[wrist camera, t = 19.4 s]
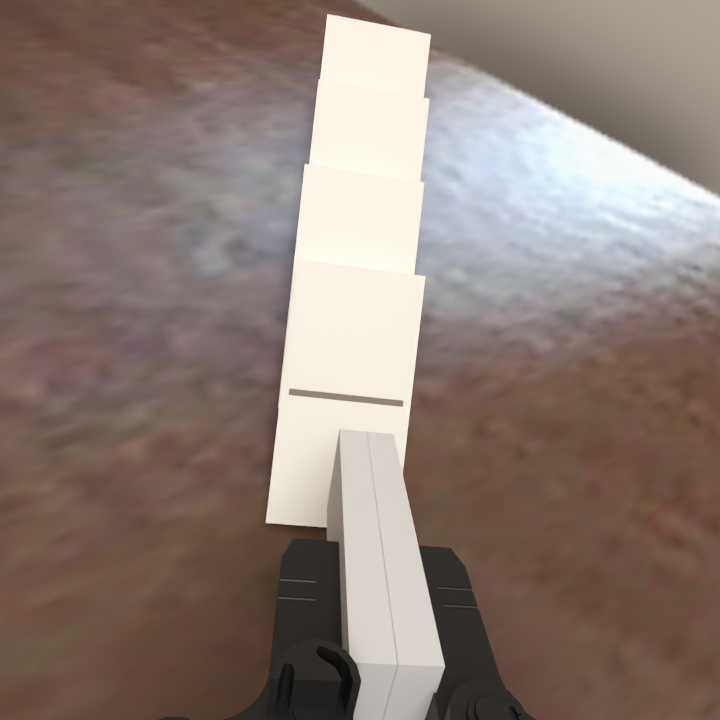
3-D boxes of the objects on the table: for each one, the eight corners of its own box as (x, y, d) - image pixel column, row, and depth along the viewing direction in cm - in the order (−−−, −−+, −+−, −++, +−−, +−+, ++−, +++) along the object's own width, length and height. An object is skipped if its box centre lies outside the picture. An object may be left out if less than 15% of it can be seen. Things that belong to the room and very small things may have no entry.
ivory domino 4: (395, 532, 20) (425, 276, 20) (265, 523, 19) (296, 258, 19) (388, 518, 21) (416, 282, 21) (268, 509, 21) (296, 265, 21)
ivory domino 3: (397, 419, 21) (424, 182, 21) (278, 408, 21) (304, 163, 20) (391, 414, 23) (415, 194, 23) (279, 403, 22) (304, 177, 22)
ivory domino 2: (404, 320, 23) (429, 98, 23) (293, 306, 22) (318, 79, 22) (397, 322, 24) (421, 115, 24) (293, 309, 24) (317, 97, 24)
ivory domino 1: (406, 240, 24) (430, 34, 24) (303, 226, 24) (327, 14, 24) (400, 247, 26) (422, 54, 26) (303, 233, 25) (325, 35, 25)
